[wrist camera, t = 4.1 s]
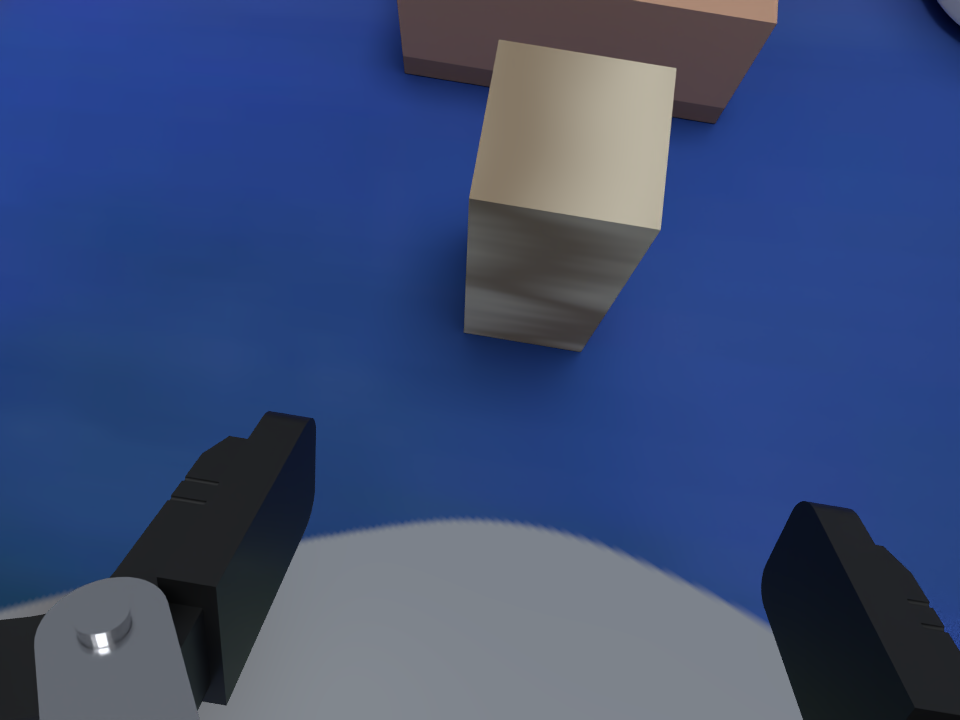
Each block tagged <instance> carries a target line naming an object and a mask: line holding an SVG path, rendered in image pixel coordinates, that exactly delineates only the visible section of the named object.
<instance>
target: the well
mask: <svg viewBox="0 0 960 720" xmlns="http://www.w3.org/2000/svg"><path fill="white" fill-rule="evenodd" d="M397 4H398V13H399V23H400V32H401V41H402V51H403V60H404V69H405V73H408V74H414V75H420V76H427V77H433V78H439V79H445V80H451V81H457V82H463V83H469V84H476V85H482V86H488V87H490V84H491V79H492V74H493V68H494V63H495V58H496V52H497V47H498V42H499V39H500V40H506V41H512V42H518V43H524V44H530V45H536V46H543V47H549V48H555V49H561V50H567V51H573V52H579V53H586V54H592V55H598V56H604V57H610V58H616V59H623V60H629V61H635V62H641V63H647V64H653V65H659V66H666V67H672V68H677V69H676V79H675V89H674V99H673V109H672V117H678V118H684V119H690V120H696V121H702V122H708V123H714V124H715V123H716V121H717V120H718V118H719V116H720V115H721V113H722V112H723V110H724V108H725V107H726V105H727V103H728V102H729V100H730V99H731V97H732V95H733V94H734V92H735V90H736V89H737V87H738V86H739V84H740V82H741V81H742V79H743V78H744V76H745V74H746V73H747V71H748V69H749V68H750V66H751V65H752V63H753V61H754V60H755V58H756V56H757V55H758V53H759V52H760V50H761V48H762V47H763V45H764V44H765V42H766V40H767V39H768V37H769V35H770V34H771V32H772V31H773V29H774V27H775V26H776V24H777V11H778V0H397Z"/></svg>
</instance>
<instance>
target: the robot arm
mask: <svg viewBox="0 0 960 720" xmlns="http://www.w3.org/2000/svg"><path fill="white" fill-rule="evenodd" d="M315 450H316V425H315V421H314V419H313V418H308V417H302V416H296V415H290V414H284V413H278V412H271V411H268V412H267V413H265V415H264V416H263V417H262V419H261V420H260V422H259V423H258V425H257V426H256V428H255V429H254V431H253V432H252V434H251V435H250V437H249V438H248V439H244V438H238V437H232V436H229V437H227V438H226V439H224V440H223V441H221V442H219V443H218V444H216V445H215V446H213V447H212V448H210V449H209V450H207V451H205V452H204V453H202V455H201V456H200V457H199V459H198V460H197V461H196V463H195V464H194V465H193V467H192V468H191V469H190V471H189V472H188V474H187V475H186V476H185V481H182V482H181V483H180V484H179V486H178V487H177V488H176V490H175V491H174V492H173V494H172V495H171V499H170V501H169V500H167V502H166V503H165V505H164V506H163V507H162V509H161V510H160V511H159V513H158V514H157V515H156V517H155V518H154V519H153V521H152V522H151V523H150V525H149V526H148V527H147V529H146V530H145V531H144V533H143V534H142V536H141V537H140V538H139V540H138V541H137V542H136V544H135V545H134V546H133V548H132V549H131V550H130V552H129V553H128V554H127V556H126V557H125V558H124V560H123V561H122V563H121V564H120V565H119V567H118V568H117V569H116V571H115V572H114V573H113V574H112V576H111V577H110V578H107V579H103V580H99V581H95V582H92V583H90V584H87V585H84V586H82V587H80V588H78V589H76V590H74V591H73V592H71V593H69V594H68V595H66V596H65V597H63V598H62V599H61V600H60V601H58V602H57V603H56V604H55V605H54V606H53V607H52V608H51V609H50V610H49V611H48V612H47V613H46V614H43V615H38V616H32V617H24V618H15V619H6V620H0V720H199V716H198V712H197V711H198V709H199V707H200V705H201V702H202V701H203V702H209V703H215V704H221V705H227V703H228V701H229V699H230V696H231V694H232V692H233V690H234V687H235V685H236V683H237V681H238V678H239V676H240V674H241V672H242V669H243V667H244V665H245V663H246V661H247V658H248V656H249V654H250V652H251V649H252V647H253V645H254V643H255V641H256V638H257V636H258V634H259V632H260V629H261V627H262V625H263V623H264V620H265V618H266V616H267V614H268V611H269V609H270V607H271V605H272V603H273V600H274V598H275V596H276V593H277V591H278V589H279V587H280V585H281V583H282V580H283V578H284V576H285V573H286V571H287V569H288V567H289V565H290V562H291V560H292V558H293V556H294V553H295V551H296V549H297V547H298V545H299V542H300V540H301V538H302V536H303V533H304V531H305V529H306V527H307V524H308V521H309V518H310V514H311V511H312V506H313V501H314V493H315ZM761 593H762V601H763V605H764V608H765V611H766V614H767V617H768V620H769V623H770V625H771V628H772V631H773V634H774V637H775V640H776V643H777V646H778V648H779V651H780V654H781V657H782V660H783V663H784V666H785V669H786V672H787V674H788V677H789V680H790V683H791V686H792V689H793V692H794V695H795V697H796V700H797V703H798V706H799V709H800V712H801V715H802V718H803V720H960V651H959V649H958V648H957V646H956V645H955V643H954V641H953V640H952V638H951V636H950V635H949V633H946V632H944V625H943V624H942V622H941V620H940V619H939V617H938V615H937V614H936V612H935V611H934V609H933V608H929V601H928V599H927V598H926V596H925V594H924V593H923V591H922V590H921V588H920V586H919V585H918V583H917V581H916V580H915V578H914V577H913V575H912V573H911V572H910V571H908V570H907V569H906V568H905V567H904V566H903V565H902V564H901V563H900V562H899V561H898V560H897V559H896V558H895V557H894V556H893V555H892V554H891V553H890V552H889V551H888V550H886V549H885V548H884V547H883V546H879V545H875V544H874V542H873V540H872V538H871V537H870V535H869V533H868V532H867V530H866V528H865V527H864V525H863V523H862V521H861V520H860V518H859V516H858V515H857V514H856V513H855V512H854V511H853V510H851V509H848V508H842V507H836V506H830V505H824V504H818V503H812V502H806V501H802V502H800V503H798V504H797V505H796V506H795V507H794V509H793V511H792V513H791V515H790V517H789V519H788V521H787V523H786V525H785V527H784V529H783V531H782V533H781V535H780V537H779V539H778V541H777V543H776V545H775V547H774V549H773V551H772V553H771V555H770V557H769V559H768V561H767V563H766V566H765V568H764V571H763V576H762V584H761Z"/></svg>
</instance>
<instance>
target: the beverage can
mask: <svg viewBox="0 0 960 720" xmlns="http://www.w3.org/2000/svg"><path fill="white" fill-rule="evenodd" d="M937 1H938V3H939V4H940V6H941V7H942V8H943V9H944V11H945V12H946V13H947V14H948V15H949V16H950V17H951V18H952V19H953V20H954V21H955V22H956V23H957V24H958V25H960V0H937Z"/></svg>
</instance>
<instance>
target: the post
mask: <svg viewBox="0 0 960 720" xmlns="http://www.w3.org/2000/svg"><path fill="white" fill-rule="evenodd" d="M676 69H677V68H672V67H666V66H659V65H653V64H647V63H641V62H635V61H629V60H623V59H616V58H610V57H604V56H598V55H592V54H586V53H579V52H573V51H567V50H561V49H555V48H549V47H543V46H536V45H530V44H524V43H518V42H512V41H506V40H500V39H499V42H498V47H497V52H496V58H495V63H494V68H493V74H492V79H491V84H490V90H489V95H488V100H487V106H486V111H485V117H484V122H483V127H482V133H481V138H480V143H479V149H478V154H477V159H476V165H475V170H474V175H473V181H472V186H471V191H470V197H469V216H468V241H467V266H466V291H465V317H464V333H470V334H476V335H482V336H488V337H494V338H500V339H506V340H512V341H518V342H524V343H530V344H536V345H542V346H548V347H554V348H560V349H566V350H572V351H578V352H581V351H582V349H583V348H584V346H585V345H586V343H587V342H588V340H589V339H590V337H591V336H592V334H593V333H594V331H595V329H596V328H597V326H598V325H599V323H600V322H601V320H602V319H603V317H604V316H605V314H606V313H607V311H608V310H609V308H610V307H611V305H612V303H613V302H614V300H615V299H616V297H617V296H618V294H619V293H620V291H621V290H622V288H623V287H624V285H625V284H626V282H627V281H628V279H629V277H630V276H631V274H632V273H633V271H634V270H635V268H636V267H637V265H638V264H639V262H640V261H641V259H642V258H643V256H644V254H645V253H646V251H647V250H648V248H649V247H650V245H651V244H652V242H653V241H654V239H655V238H656V236H657V235H658V233H659V232H660V230H661V220H662V210H663V200H664V190H665V180H666V170H667V160H668V150H669V139H670V129H671V119H672V109H673V99H674V89H675V79H676Z"/></svg>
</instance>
